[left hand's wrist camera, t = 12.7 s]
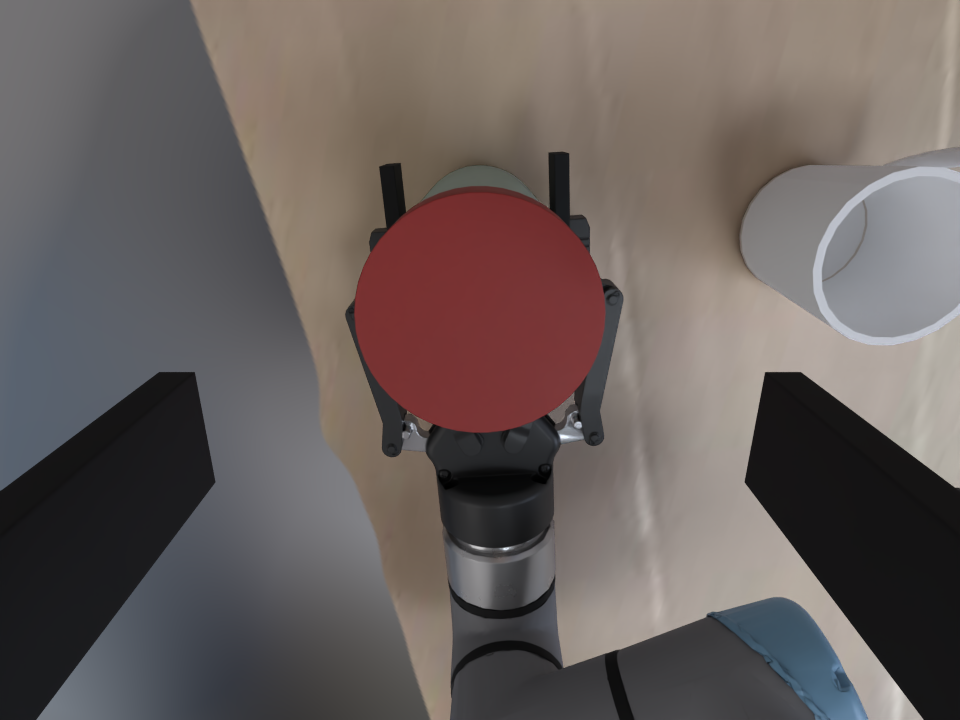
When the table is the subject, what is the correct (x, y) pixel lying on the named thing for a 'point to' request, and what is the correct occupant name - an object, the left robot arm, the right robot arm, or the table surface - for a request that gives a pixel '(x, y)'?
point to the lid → (479, 310)
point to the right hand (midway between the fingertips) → (474, 159)
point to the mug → (863, 244)
